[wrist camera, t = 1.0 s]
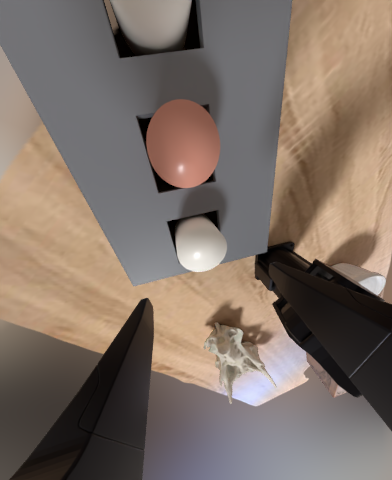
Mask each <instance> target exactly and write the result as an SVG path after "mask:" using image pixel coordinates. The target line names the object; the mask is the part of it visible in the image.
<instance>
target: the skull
mask: <svg viewBox="0 0 392 480" xmlns="http://www.w3.org/2000/svg"><path fill="white" fill-rule="evenodd" d="M215 326H216V329H214V330H213V331H212V332H211V334H210V336H209V337H208V338H207V339H206V341H205V343H204V349H206V346H207V347H210V349H209V352H211V353H214V354H216V355H217V361H216V362H215V364H216V367H217V368H219V370H220V385H221V386H222V381H224V385H225V389H226V392H227V394H228V397H229V401H230V403H231V404H232V396H231V395H232V384H233V382H234V381H235V379H237V378H239V377H240V376H241V375H242V374H245V373H247V372H249V371H250V372H253V371H259V372H261V373H263V374H264V375H265V376H266V377H267V378H268V379H269V380H270V382H271V383H272V384H273V385H274V386H275V388H276V385H275V383H274V382H273V380H272V378H271V377H270V375H269V374H268V373H267V371H266V369H265V368H264V367H265V366H264V363H263V362H262V361H261V360H260V358H259V354H258V347H257V346H256V345H253V344H252V343H251V342H243V343H241V339H242V336H243V331H242V330H241V329H239V328H235V327H228V326H226V325H220V324H219V323H218V322H216V323H215Z"/></svg>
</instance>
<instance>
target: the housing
mask: <svg viewBox="0 0 392 480" xmlns="http://www.w3.org/2000/svg"><path fill="white" fill-rule="evenodd" d="M291 8H292V0H196V9H197V19H198V29H199V39H200V49H192V50H184V51H175V52H167V53H159V54H151V55H143V56H135V57H127V58H120V55H119V51H118V48H117V44H116V41H115V37H114V34H113V31H112V27H111V24H110V20H109V17H108V13H107V10H106V6H105V3H104V0H0V45H1V47H2V49H3V50H4V52H5V54H6V56H7V58H8V60H9V61H10V63H11V65H12V67H13V69H14V70H15V72H16V74H17V76H18V78H19V79H20V81H21V83H22V85H23V87H24V88H25V90H26V92H27V94H28V96H29V98H30V99H31V101H32V103H33V105H34V107H35V108H36V110H37V112H38V114H39V116H40V118H41V119H42V121H43V123H44V125H45V127H46V129H47V130H48V132H49V134H50V136H51V138H52V139H53V141H54V143H55V145H56V147H57V148H58V150H59V152H60V154H61V156H62V158H63V159H64V161H65V163H66V165H67V167H68V168H69V170H70V172H71V174H72V176H73V178H74V179H75V181H76V183H77V185H78V187H79V188H80V190H81V192H82V194H83V196H84V197H85V199H86V201H87V203H88V205H89V207H90V208H91V210H92V212H93V214H94V216H95V217H96V219H97V221H98V223H99V225H100V226H101V228H102V230H103V232H104V234H105V236H106V237H107V239H108V241H109V243H110V245H111V246H112V248H113V250H114V252H115V254H116V256H117V257H118V259H119V261H120V263H121V265H122V266H123V268H124V270H125V272H126V274H127V275H128V277H129V279H130V281H131V283H132V285H133V286H137V285H141V284H145V283H148V282H152V281H156V280H160V279H164V278H168V277H172V276H176V275H180V274H183V273H187V272H191V270H188V269H186V268H185V267H183V266H182V265H181V263H180V262H179V260H178V257H177V249H176V247H175V246H174V243H173V239H172V236H171V232H170V229H169V225H168V222H167V221H171V220H175V219H180V218H184V217H189V216H193V215H198V214H202V213H206V212H211V211H215V210H216V212H217V223H218V230H219V231H220V232H221V234H222V235H223V236H224V238H225V240H226V242H227V252H226V255H225V257H224V259H223V260H222V261H221V262H220V263H219V264H222V263H226V262H230V261H234V260H238V259H242V258H246V257H250V256H253V255H257V254H261V253H265V252H267V246H268V236H269V226H270V216H271V206H272V196H273V187H274V177H275V167H276V157H277V147H278V137H279V127H280V117H281V107H282V97H283V87H284V78H285V68H286V58H287V48H288V38H289V28H290V18H291ZM176 99H185V100H190V101H193V102H195V103H197V104H199V105H200V106H202V107H203V108H204V109H205V108H206V111H207V112H208V113H209V114H210V116H211V117H212V119H213V120H214V122H215V124H216V127H217V130H218V133H219V138H220V155H219V160H218V163H217V165H216V168H215V170H214V171H213V181H211V182H206V183H201V184H200V185H198V186H195V187H191V188H177V189H172V190H167V191H162V192H159V191H158V187H157V184H156V180H155V177H154V173H153V170H152V166H151V163H150V159H149V156H148V152H147V149H146V145H145V142H144V138H143V135H142V131H141V128H140V124H139V121H138V119H143V118H149V117H153V115H154V114H155V112H156V111H157V110H158V109H159V108H160V107H161V106H162V105H164V104H165V103H167V102H170V101H172V100H176Z"/></svg>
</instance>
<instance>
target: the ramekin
mask: <svg viewBox="0 0 392 480" xmlns="http://www.w3.org/2000/svg"><path fill="white" fill-rule="evenodd" d="M331 267H333V268H334V269H336V270H338V271H339V272H341V273H343V274H345V275H346V276H348V277H350V278H351V279H353V280H355V281H356V282H358V283H359V284H361V285H362V286H364V287H365V288H367V289H368V290H370V291H371V292H373V293H374V294H376V295H377V296H378V294H379V293H380V292H381V291H382V289H383V288H384V286H385V283H386V279H385V277H384V276H383V275H381V274H379V273H376V272H371V271H368V270H366V269H363V268H360V267H358V266H355V265H352V264H348V263H339V264H335V265H332V266H331Z"/></svg>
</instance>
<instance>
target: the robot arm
mask: <svg viewBox="0 0 392 480" xmlns="http://www.w3.org/2000/svg"><path fill="white" fill-rule="evenodd" d="M293 249H294V243H293V242H287V243H283V244H279V245H275V246H271V247H267V252H265V253H261V254H257V255H256V263H255V278H256V279H257V280H261V281H262V283H263V284H264V285H265V286H266V288H267V289H268V290H269V291H273V292H274V293H275V294H276V295H277V297H278V298H279V299H278V300H277V301H276V302H274V303H273V304H272V305H273V307H274V309H275V311H276V313H277V315H278V316H279V318H280V320H281V322H282V324H283V326H284V328H285V330H286V332H287V334H288V335H289V337H290V338H291V339H292V340H293V341H294V342H295V343H296V344H297V345H299V346H300V347H301V348H302V349H303V350H305V351H306V352H307V353H308V354H310V355H311V356H312V357H313V358H314V359H315V360H316V361H317V362H318V363H319V364H320V365H321V366H322V367H323V369H324V370H325V371H326V372H327V373H328V374H329V375H330V377H331V378H332V379H333V380H334V381H335V382H336V383H337V384H338V385H339V386H340V387H341V388H342V389H344V390H345V391H347V392H348V393H350V394H351V395H353V396H355V397H360V396H362V395H363V396H364V397H365V398H366V400H367V401H368V402H369V403H370V405H371V406H372V407H373V408H374V410H375V411H376V412H377V413H378V415H379V416H380V417H381V418H382V419H383V421H384V422H385V423H386V425H387V426H388V427H389V428H390V430H391V431H392V304H389V303H386V302H384V300H383V299H382V298H380V297H379V296H377V295H376V294H374V293H373V292H371V291H370V290H368V289H367V288H365V287H364V286H362V285H361V284H359V283H358V282H356V281H355V280H353V279H351V278H350V277H348V276H346V275H345V274H343V273H341V272H339V271H338V270H336V269H334V268H333V267H331V266H329V265H327V264H325V263H323V262H321V261H319V260H317V259H315V260H314V261H313V263H310V262H309V261H307V260H306V259H304V258H303V257H301V256H299V255H298V254H296V253H295V252H293ZM153 339H154V321H153V306H152V304H151V302H150V300H149V299H148V298H145V299H142V300H141V301H140V302H139V303H138V305H137V306H136V308H135V309H134V311H133V312H132V314H131V315H130V317H129V318H128V320H127V321H126V323H125V324H124V326H123V327H122V328H121V330H120V331H119V333H118V334H117V336H116V337H115V339H114V340H113V342H112V343H111V345H110V346H109V348H108V349H107V351H106V352H105V354H104V355H103V356H102V358H101V360H100V361H99V362H98V365H96V367H95V368H94V370H93V371H92V373H91V374H90V376H89V377H88V378H87V380H86V381H85V383H84V384H83V385H82V387H81V388H80V390H79V391H78V392H77V394H76V395H75V397H74V398H73V399H72V401H71V402H70V403H69V405H68V406H67V407H66V409H65V410H64V411H63V413H62V414H61V415H60V416H59V418H58V419H57V420H56V422H55V423H54V425H53V426H52V427H51V428H50V430H49V431H48V432H47V434H46V435H45V436H44V438H43V439H42V440H41V442H40V443H39V444H38V445H37V447H36V448H35V449H34V451H33V452H32V453H31V455H30V456H29V457H28V458H27V460H26V461H25V462H24V463H23V465H22V466H21V467H20V468H19V469H18V471H16V473H15V474H14V475H13V476H12V477H11V478H10V479H9V480H142V473H143V462H144V448H145V436H146V424H147V412H148V400H149V388H150V375H151V363H152V351H153Z"/></svg>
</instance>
